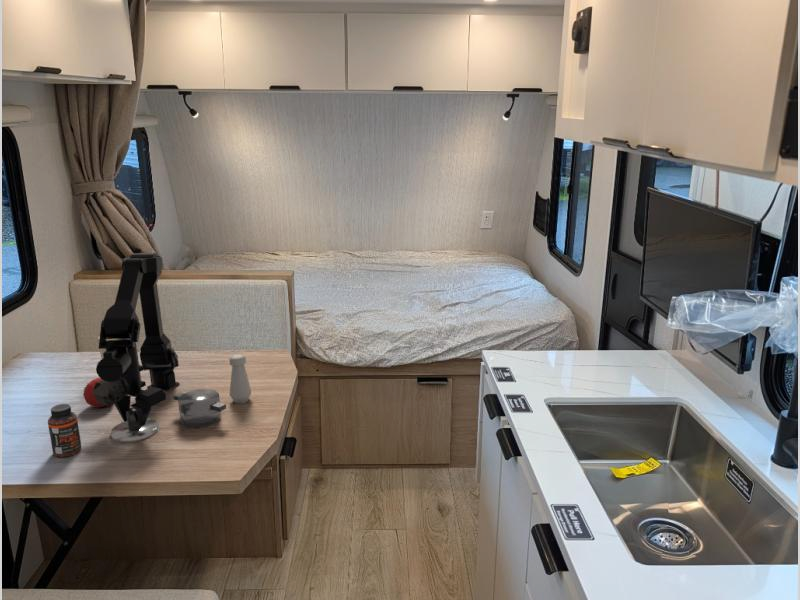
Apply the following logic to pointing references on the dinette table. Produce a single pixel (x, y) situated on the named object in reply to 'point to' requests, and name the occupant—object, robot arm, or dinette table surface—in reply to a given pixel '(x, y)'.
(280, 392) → the dinette table surface
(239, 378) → the salt shaker
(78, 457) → the dinette table surface
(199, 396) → the cooker pot
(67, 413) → the supplement bottle
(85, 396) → the tomato
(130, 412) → the cooker lid
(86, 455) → the dinette table surface
